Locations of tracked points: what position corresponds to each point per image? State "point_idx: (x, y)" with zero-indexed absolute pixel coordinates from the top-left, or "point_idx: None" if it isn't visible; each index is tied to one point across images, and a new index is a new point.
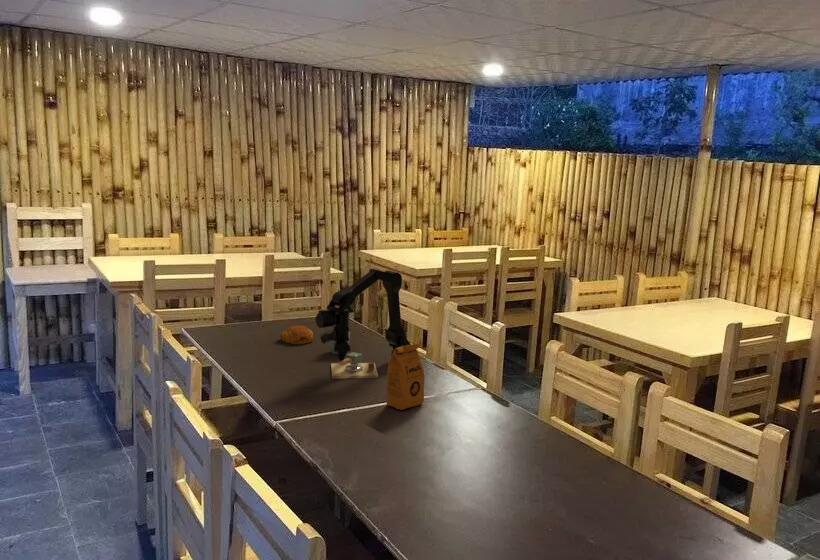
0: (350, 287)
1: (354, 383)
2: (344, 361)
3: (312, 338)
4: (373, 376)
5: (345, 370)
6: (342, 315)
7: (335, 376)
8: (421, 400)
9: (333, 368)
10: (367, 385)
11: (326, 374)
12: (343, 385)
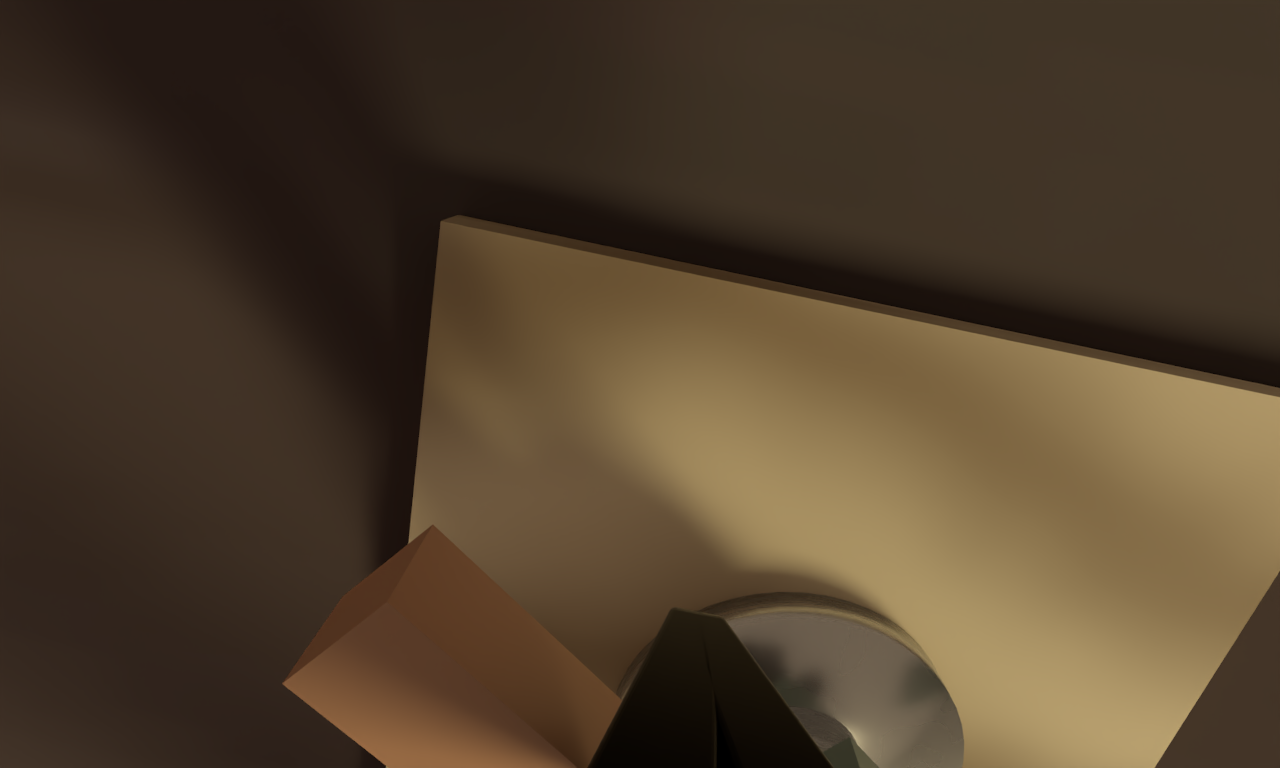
0: None
1: (129, 554)
2: (379, 754)
3: None
4: None
5: (752, 581)
6: None
7: (436, 299)
8: None
9: (987, 382)
10: (31, 706)
11: (779, 152)
12: (8, 345)
